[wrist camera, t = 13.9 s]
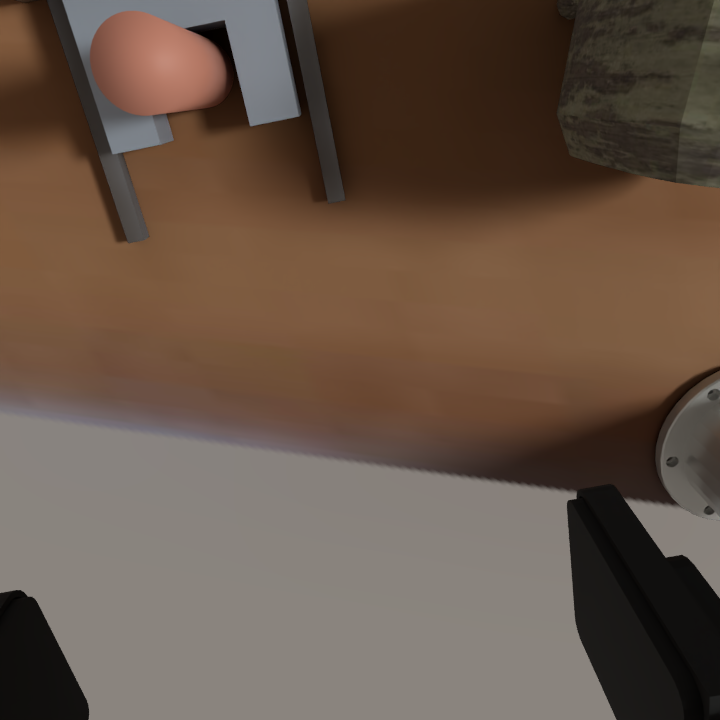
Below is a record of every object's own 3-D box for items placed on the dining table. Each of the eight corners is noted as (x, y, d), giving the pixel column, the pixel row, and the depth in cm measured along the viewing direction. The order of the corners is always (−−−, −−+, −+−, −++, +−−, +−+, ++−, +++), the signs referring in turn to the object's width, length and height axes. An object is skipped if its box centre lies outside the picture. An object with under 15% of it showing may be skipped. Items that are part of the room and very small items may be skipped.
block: (267, -50, 33) (261, -63, 30) (301, 114, 36) (299, 116, 33) (79, -10, 33) (56, -19, 31) (129, 149, 36) (112, 154, 34)
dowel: (223, 30, 34) (170, 0, 23) (241, 101, 36) (198, 105, 25) (158, 44, 35) (75, 21, 24) (178, 114, 36) (109, 124, 25)
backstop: (318, -96, 32) (316, -126, 28) (369, 192, 38) (374, 207, 33) (13, -30, 33) (-38, -49, 28) (109, 244, 39) (78, 265, 34)
